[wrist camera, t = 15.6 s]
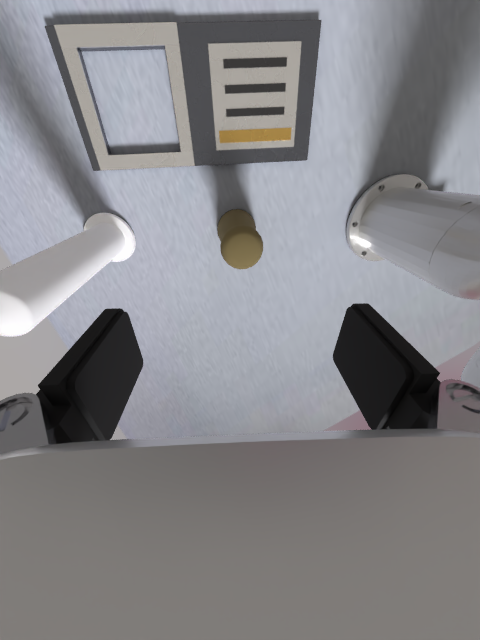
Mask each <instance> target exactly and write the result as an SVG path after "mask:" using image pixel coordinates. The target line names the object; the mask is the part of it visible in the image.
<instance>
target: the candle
mask: <svg viewBox="0 0 480 640" xmlns="http://www.w3.org/2000/svg"><path fill="white" fill-rule="evenodd" d="M135 246H136V240H135V236H134V233H133V231H132V229H131V228H130V226H129V225H128V224H127V223H126V222H125V221H124V220H123V219H121V218H120V217H118V216H116V215H114V214H111V213H97V214H94V215H92V216H91V217H90V218H88V220H87V221H86V223H85V226H84V232H81V233H79V234H77V235H75V236H73V237H71V238H69V239H67V240H64V241H62V242H60V243H58V244H56V245H54V246H52V247H50V248H48V249H45V250H43V251H41V252H39V253H37V254H35V255H33V256H31V257H29V258H26V259H24V260H22V261H20V262H18V263H16V264H14V265H12V266H9V267H7V268H5V269H3V270H1V271H0V335H1V336H20V335H23V334H25V333H27V332H29V331H30V330H32V329H33V328H34V327H35V326H36V325H37V324H38V323H40V322H41V321H42V320H43V319H44V318H45V317H47V316H48V315H49V314H50V313H51V312H52V311H53V310H55V309H56V308H57V307H58V306H59V305H60V304H62V303H63V302H64V301H65V300H66V299H67V298H68V297H70V296H71V295H72V294H73V293H74V292H75V291H77V290H78V289H79V288H80V287H81V286H82V285H83V284H85V283H86V282H87V281H88V280H89V279H90V278H92V277H93V276H94V275H95V274H96V273H97V272H98V271H100V270H101V269H102V268H103V267H104V266H105V265H107V264H108V263H109V262H110V261H114V262H119V261H123V260H126V259H128V258H129V257H130V256H131V255H132V254H133V252H134V250H135Z"/></svg>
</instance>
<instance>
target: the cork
mask: <svg viewBox="0 0 480 640" xmlns="http://www.w3.org/2000/svg"><path fill="white" fill-rule="evenodd" d="M217 230H218V236H219V239H220V241H221V254H222V256H223V258H224V260H225V261H226V262H227V263H228V264H229V265H230V266H232V267H234V268H237V269H247V268H249V267H252V266H253V265H255V264H256V263H257V262H258V260H259V259H260V258H261V255H262V251H263V242H262V239H261V236H260V235H259V233H258V232H257V231H256V226H255V222H254V220H253V218H252V217H251V215H250V214H248V213H247V212H246V211H243V210H240V209H234V210H230V211H228V212H226V213H225V214H224V215H223V216H222V217H221V219H220V221H219V223H218V228H217Z"/></svg>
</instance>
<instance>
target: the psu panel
mask: <svg viewBox="0 0 480 640" xmlns="http://www.w3.org/2000/svg"><path fill="white" fill-rule="evenodd" d="M320 28H321V20H292V21H247V22H203V23H177V22H155V23H110V24H65V25H54V26H45V29H46V32H47V35H48V38H49V40H50V43H51V46H52V49H53V52H54V55H55V58H56V61H57V64H58V67H59V70H60V73H61V76H62V79H63V82H64V85H65V88H66V91H67V94H68V97H69V100H70V103H71V106H72V109H73V112H74V115H75V118H76V121H77V123H78V126H79V129H80V132H81V135H82V138H83V141H84V144H85V147H86V150H87V153H88V156H89V159H90V162H91V165H92V168H93V171H100V170H120V169H140V168H160V167H181V166H201V165H221V164H241V163H261V162H282V161H302V160H307V156H308V146H309V136H310V127H311V117H312V107H313V97H314V87H315V77H316V67H317V58H318V48H319V38H320ZM148 49H165V50H166V56H167V63H168V69H169V76H170V83H171V89H172V96H173V103H174V109H175V116H176V123H177V129H178V136H179V142H180V149H181V152H170V153H148V154H127V155H111V152H110V149H109V145H108V142H107V139H106V135H105V132H104V128H103V125H102V121H101V118H100V115H99V111H98V108H97V104H96V101H95V97H94V94H93V91H92V87H91V84H90V80H89V77H88V73H87V70H86V66H85V63H84V60H83V56H82V53H81V51H111V50H148Z"/></svg>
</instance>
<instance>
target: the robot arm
mask: <svg viewBox="0 0 480 640" xmlns="http://www.w3.org/2000/svg"><path fill="white" fill-rule="evenodd" d="M378 188H379V189H378ZM346 236H347V242H348V245H349V247H350V248H351V250H352V251H353V252H354V253H355V254H356V255H357V256H359V257H360V258H362V259H365V260H368V261H381V260H387V261H389V262H391V263H393V264H395V265H396V266H398V267H400V268H402V269H404V270H406V271H407V272H409V273H411V274H413V275H415V276H417V277H418V278H420V279H422V280H424V281H426V282H427V283H429V284H431V285H433V286H435V287H437V288H438V289H441V290H442V291H444V292H446V293H448V294H451V295H453V296H456V297H459V298H464V299H471V300H480V195H473V194H463V193H453V192H444V191H434V190H429V189H428V187H427V185H426V184H425V183H424V181H422V180H421V179H420V178H418V177H416V176H413V175H407V174H398V175H392V176H389V177H386V178H384V179H382V180H380V181H378V182H376V183H375V184H374V185H372V186H371V187H370V188H369V189H367V190H366V191H365V192H364V193H363V194H362V196H361V197H360V198H359V199H358V201H357V202H356V204H355V205H354V207H353V209H352V211H351V213H350V216H349V219H348V223H347V229H346ZM333 360H334V363H335V364H336V366H337V368H338V370H339V372H340V374H341V375H342V377H343V379H344V381H345V383H346V385H347V386H348V388H349V390H350V392H351V394H352V396H353V398H354V399H355V401H356V403H357V405H358V407H359V409H360V410H361V412H362V414H363V416H364V418H365V420H366V421H367V423H368V425H369V427H370V428H371V429H372V430H348V431H318V432H290V433H264V434H238V435H213V436H190V437H167V438H144V439H122V440H110V439H111V438H112V436H113V434H114V431H115V429H116V427H117V424H118V422H119V420H120V417H121V415H122V413H123V411H124V408H125V406H126V404H127V401H128V399H129V397H130V395H131V392H132V390H133V388H134V385H135V383H136V381H137V378H138V376H139V374H140V372H141V369H142V367H143V358H142V355H141V352H140V349H139V346H138V343H137V340H136V337H135V333H134V330H133V327H132V324H131V321H130V318H129V315H128V313H127V312H124V311H123V310H122V309H105V310H104V311H103V312H102V313H101V314H100V316H99V317H98V318H97V319H96V320H95V321H94V322H93V324H92V325H91V326H90V327H89V328H88V329H87V330H86V331H85V333H84V334H83V335H82V336H81V337H80V338H79V339H78V341H77V342H76V343H75V344H74V345H73V346H72V347H71V349H70V350H69V351H68V352H67V353H66V354H65V355H64V356H63V358H62V359H61V360H60V361H59V362H58V363H57V364H56V366H55V367H54V368H53V369H52V370H51V372H49V374H48V375H47V376H46V377H45V378H44V379H43V380H42V381H41V383H40V384H39V385H38V387H39V388H40V390H39V392H38V393H37V394H36V395H35V394H32V393H22V394H16V395H13V396H10V397H8V398H5V399H3V400H1V401H0V640H480V347H479V348H478V349H477V351H476V352H475V354H474V355H473V356H472V357H471V359H470V360H469V361H468V363H467V364H466V366H465V367H464V370H463V373H462V375H461V381H460V380H453V379H449V380H444V381H442V382H440V381H439V380H438V379H437V377H438V375H439V374H440V373H439V372H438V371H437V370H436V369H435V368H434V367H433V366H432V365H431V364H430V363H429V362H428V361H427V360H426V359H425V358H424V357H423V356H422V355H421V354H420V353H419V352H418V351H417V350H416V349H415V348H414V347H413V346H412V345H411V344H410V343H408V342H407V341H406V340H405V339H404V338H403V337H402V336H401V335H400V334H399V333H398V332H397V331H396V330H395V329H394V328H393V327H392V326H391V325H390V324H389V323H388V322H387V321H386V320H385V319H384V318H383V317H382V316H381V315H380V314H379V313H378V312H377V311H376V310H374V309H373V308H372V307H371V306H370V305H369V304H353V305H352V306H351V307H349V308H348V309H347V311H346V314H345V317H344V320H343V324H342V327H341V330H340V333H339V337H338V340H337V343H336V346H335V350H334V353H333Z"/></svg>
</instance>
